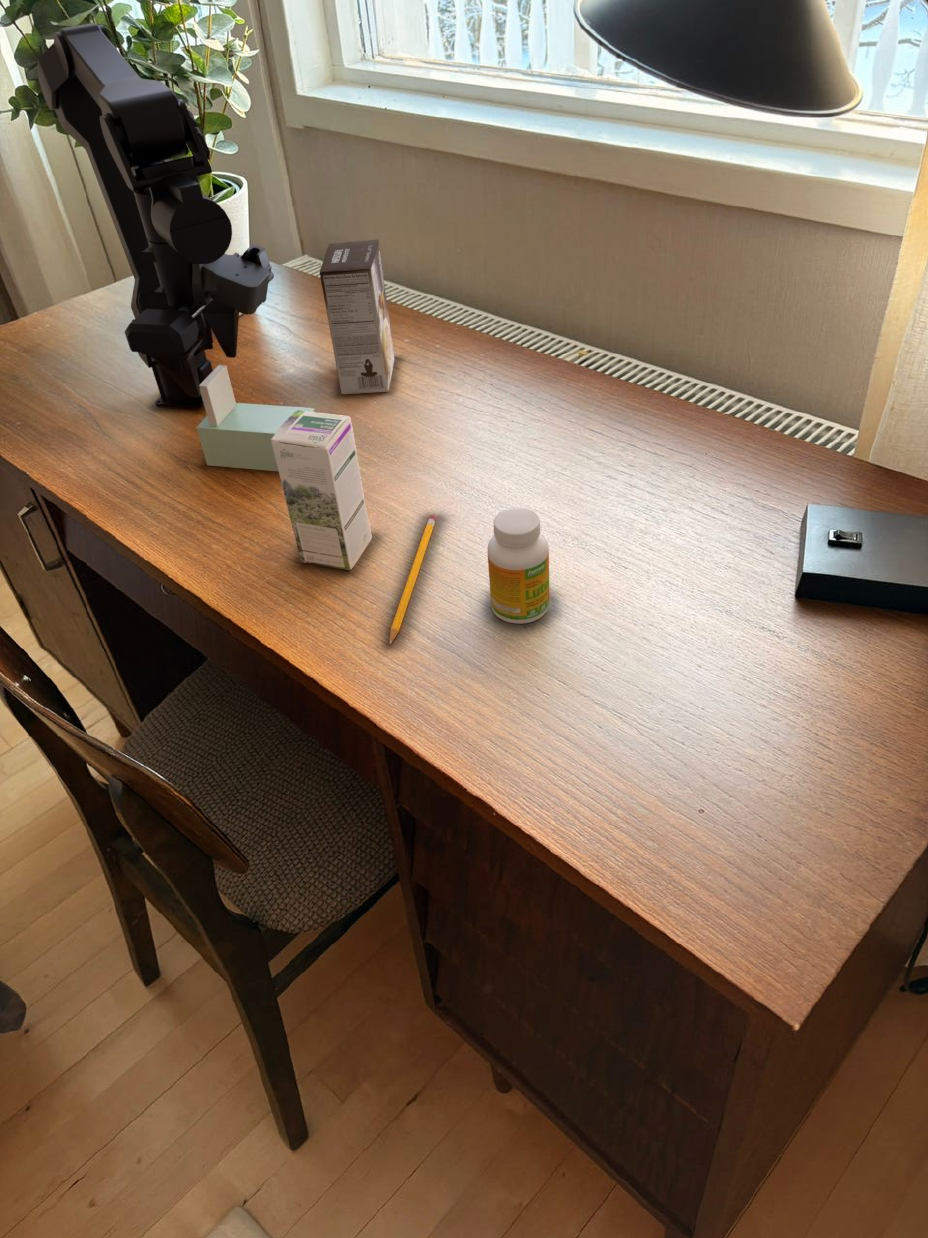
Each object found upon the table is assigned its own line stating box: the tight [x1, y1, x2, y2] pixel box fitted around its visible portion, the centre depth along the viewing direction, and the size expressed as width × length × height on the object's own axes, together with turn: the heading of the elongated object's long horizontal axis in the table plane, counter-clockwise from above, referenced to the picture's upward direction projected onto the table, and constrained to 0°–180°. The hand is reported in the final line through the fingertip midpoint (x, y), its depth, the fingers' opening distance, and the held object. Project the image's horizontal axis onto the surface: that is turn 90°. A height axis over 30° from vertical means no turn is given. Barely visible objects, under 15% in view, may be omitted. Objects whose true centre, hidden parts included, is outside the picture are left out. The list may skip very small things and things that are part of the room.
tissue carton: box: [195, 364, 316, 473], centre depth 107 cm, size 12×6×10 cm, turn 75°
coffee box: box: [319, 239, 395, 395], centre depth 117 cm, size 9×6×16 cm
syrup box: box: [271, 410, 373, 571], centre depth 90 cm, size 6×6×14 cm
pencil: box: [389, 514, 437, 645], centre depth 91 cm, size 1×19×1 cm, turn 170°
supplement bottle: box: [487, 507, 550, 625], centre depth 84 cm, size 5×5×10 cm
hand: (214, 375), depth 105 cm, fingers open, 9 cm apart
